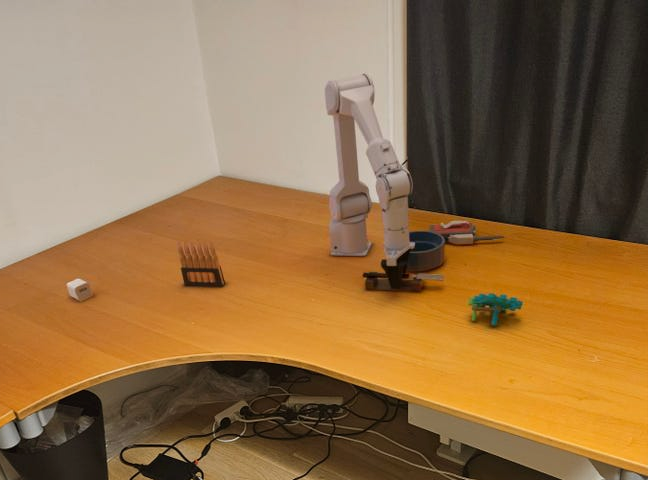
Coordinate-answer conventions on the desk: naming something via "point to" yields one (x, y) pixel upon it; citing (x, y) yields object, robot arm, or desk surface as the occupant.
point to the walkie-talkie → (459, 232)
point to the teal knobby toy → (493, 305)
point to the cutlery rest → (384, 285)
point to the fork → (408, 276)
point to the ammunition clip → (200, 266)
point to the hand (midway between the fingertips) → (398, 280)
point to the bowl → (426, 250)
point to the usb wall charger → (79, 289)
